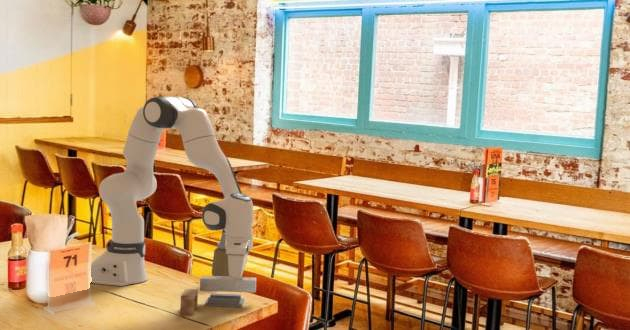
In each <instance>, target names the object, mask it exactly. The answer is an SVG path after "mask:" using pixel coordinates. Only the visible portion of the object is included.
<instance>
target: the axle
mask: <svg viewBox="0 0 630 330" xmlns="http://www.w3.org/2000/svg"><path fill="white" fill-rule="evenodd" d="M199 291H202V292H227V293H228V292H230V293H231V292H232V293H251V294H253V293H254V294H255V293H256V292H257V277H251V276H250V277H247V276H242V277H241V278H240V287H239V288H235V287H234V278H230V277H227V276H213V275H201V277H200V280H199Z"/></svg>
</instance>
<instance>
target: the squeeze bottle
mask: <svg viewBox="0 0 630 330" xmlns="http://www.w3.org/2000/svg"><path fill="white" fill-rule="evenodd" d="M225 241H226V232H222V233H221V237H220V240H219V241H218V242H217V243H216V248H215V249H214V251H213V259H212V266H211V276H227V277H229V268H228V254H226V248H225Z"/></svg>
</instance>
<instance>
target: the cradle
mask: <svg viewBox="0 0 630 330" xmlns="http://www.w3.org/2000/svg"><path fill="white" fill-rule="evenodd" d="M209 295H210V296H208V297H207V299H206V300H205V303H204V307H219V306H222V308H242V307H243V304H244V301H245V298H242V294H237V293H235V294H234V293H215V292H213V293H212V292H211V293H210V294H209ZM223 306H224V307H223Z"/></svg>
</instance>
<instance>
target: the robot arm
mask: <svg viewBox="0 0 630 330" xmlns="http://www.w3.org/2000/svg"><path fill="white" fill-rule="evenodd" d="M165 129H169V130H170V129H171V130H174V129H177V131H178V132H179V133H180V135H181V140H182V144H183V148H184V153H185V155H186V157H187V159H188V161H189V162H190V163H191V164H193V166H196V167H198V168H201V169H204V170H206V171H208V172H210V173H212V175H214V176H215V178H216V179H217V181H218V183H219V186H220V189H221V192H222V194H223V197H224V198H223V199H220V200H215V201H212V202H209V203H206V204H205V205H204V207H203V209H202V212H201V219H202V223H203V225H204V226H205V228H207V229H208V230H210V231H222V230H223V231H225V233H226V241H225V248H226V254H228V268H229V277H230V278H234V287H235V288H239V287H240V278H241V277H243V273H244V269H245V268H246V265H247V259H248V257H247V256H248V255H249V252H250V251H252V250H253V246H254V245H253V243H254V242H253V241H254V240H253V238H254V233H253V224H254V204H253V200H252V197H250V196H249V195H247V194H245V193H243V192H242V190H241V187H240V185H239V182H238V180H237V177H236V174H235V171H234V169H233V167H232V164H231V162H230V160H229V158H228V157H227V155H225V154H224V152H223V151H222V149H221V147H220V145H219V143H218V139H217V137H216V132H215V129H214V127H213V123H212V121H211V119H210V117H209V115H208V113H207V111H206V110H205V109H204V108H200V107H199V106H198V104H197V102H196V101H195V100H193V99H192V98H189V97H185V96H178V95H169V96H167V95H166V96H161V95H159V96H154V97H151V98H150V99H148V100H147V101H146V102H145V103H144V105H142V106H141V107H139V108H138V110H137V111H136V113H135V115H134V117H133V119H132V122H131V124H130V126H129V130H128V133H127V136H126V140H125V143H124V146H123V150H122V156H123V158H125V160H126V163H125V170H124V171H123V172H117V173H112V174H111V175H108V176H107V177H105V178H104V179H103V180H102V181H101V182H100V184H99V188H98V193H99V196H100V198H101V200H102V201H103V202H104V203H105V204H106V205H107V207H108V209H109V210H108V211H109V213H110V217H111V218H110V219H111V238H110V239H108V241H107V242H106V243H105V249H106V250H105V251H104V252H102V253H101V254H100V255H99V256H97V257H96V258H94V259H93V261H92V262H91V264H90V266H91V277H92V283H91V284H97V285H98V284H99V285H106V286H107V285H111V286H116V287H123V286H127V285H132V284H140V283H143V282H145V281H147V280H148V278H149V276H148V274H147V270H146V263H145V255H146V240H145V219H144V217H143V216H142V215H141V214H140V212H139V210H138V207H137V202H139V201H144V200H146V199H147V198H149V197H150V196H152V195H154V193H156V190H157V188H158V184H157V183H158V182H157V179H156V176H155V174H154V164H155V160H156V159H155V157H156V155H157V151H158V148H159V145H160V144H159V143H160V141H161V138H162V134H163V132H164V130H165Z"/></svg>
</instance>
